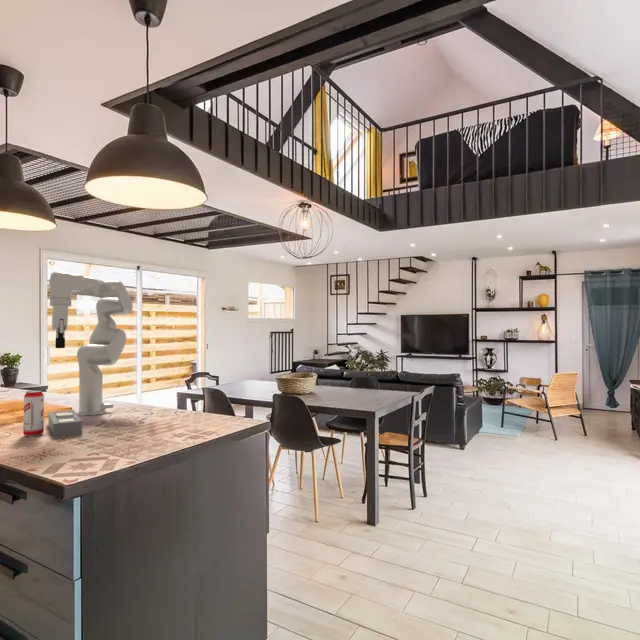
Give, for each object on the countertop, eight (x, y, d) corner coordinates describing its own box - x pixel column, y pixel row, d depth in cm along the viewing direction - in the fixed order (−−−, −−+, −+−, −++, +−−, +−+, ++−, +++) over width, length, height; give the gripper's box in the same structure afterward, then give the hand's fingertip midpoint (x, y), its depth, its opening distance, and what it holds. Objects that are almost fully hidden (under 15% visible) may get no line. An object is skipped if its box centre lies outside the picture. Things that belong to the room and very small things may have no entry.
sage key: (71, 419, 177) (71, 412, 177) (72, 421, 173) (72, 414, 173) (56, 420, 174) (56, 413, 174) (57, 422, 170) (57, 416, 170)
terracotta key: (69, 418, 184) (69, 411, 184) (70, 420, 180) (70, 413, 180) (54, 419, 181) (54, 413, 181) (55, 421, 177) (55, 415, 177)
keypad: (73, 421, 187) (73, 409, 187) (81, 434, 165) (82, 420, 165) (48, 424, 182) (48, 412, 182) (53, 437, 160) (53, 423, 160)
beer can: (41, 432, 169) (41, 389, 169) (45, 435, 164) (46, 391, 165) (21, 435, 164) (22, 391, 165) (25, 438, 160) (26, 392, 160)
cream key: (73, 425, 171) (73, 418, 171) (74, 427, 166) (74, 420, 167) (58, 426, 168) (58, 419, 168) (59, 429, 164) (59, 422, 164)
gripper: (48, 303, 186) (48, 347, 186) (51, 301, 174) (50, 349, 174) (69, 303, 191) (68, 347, 190) (73, 302, 178) (72, 348, 178)
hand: (60, 347), depth 182 cm, fingers closed
